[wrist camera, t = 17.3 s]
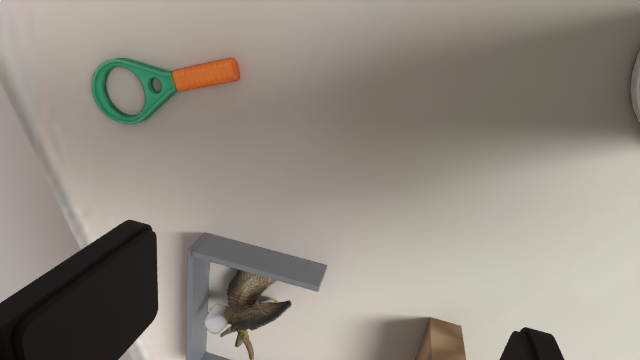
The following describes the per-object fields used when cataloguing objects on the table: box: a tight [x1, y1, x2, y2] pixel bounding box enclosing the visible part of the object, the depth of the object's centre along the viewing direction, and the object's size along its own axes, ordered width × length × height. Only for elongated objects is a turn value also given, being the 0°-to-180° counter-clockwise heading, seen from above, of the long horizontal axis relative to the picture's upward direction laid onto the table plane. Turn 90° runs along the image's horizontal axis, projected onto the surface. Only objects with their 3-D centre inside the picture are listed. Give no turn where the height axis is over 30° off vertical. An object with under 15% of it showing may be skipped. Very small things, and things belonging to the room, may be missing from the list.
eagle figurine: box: [205, 270, 292, 360], centre depth 39 cm, size 8×7×9 cm
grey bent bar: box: [186, 233, 327, 360], centre depth 41 cm, size 13×18×4 cm
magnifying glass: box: [92, 58, 240, 124], centre depth 35 cm, size 15×6×2 cm, turn 101°
